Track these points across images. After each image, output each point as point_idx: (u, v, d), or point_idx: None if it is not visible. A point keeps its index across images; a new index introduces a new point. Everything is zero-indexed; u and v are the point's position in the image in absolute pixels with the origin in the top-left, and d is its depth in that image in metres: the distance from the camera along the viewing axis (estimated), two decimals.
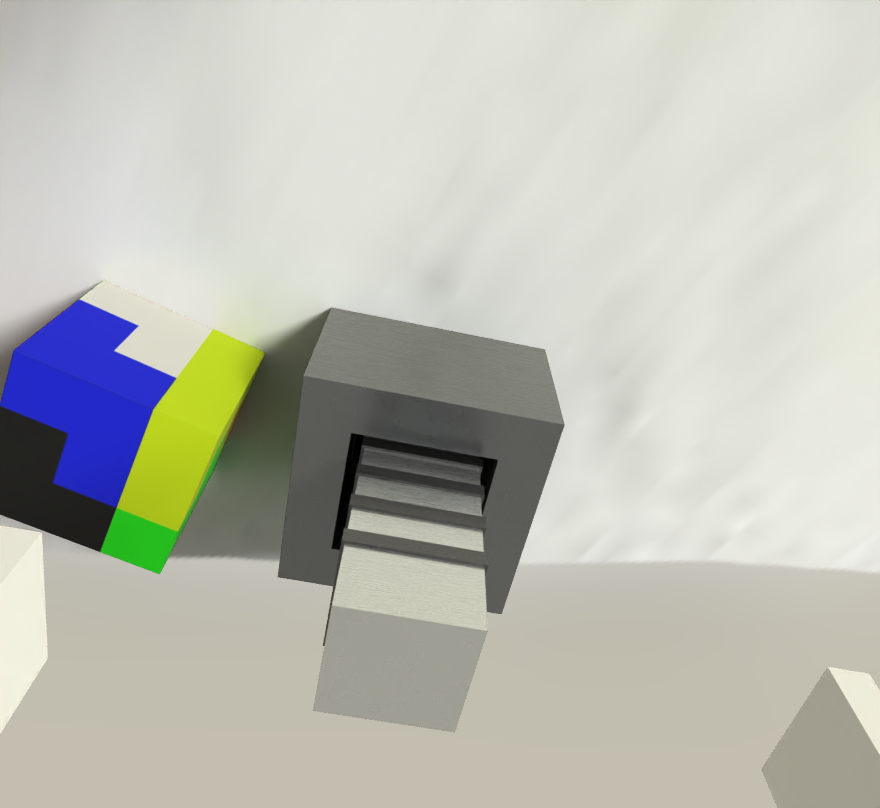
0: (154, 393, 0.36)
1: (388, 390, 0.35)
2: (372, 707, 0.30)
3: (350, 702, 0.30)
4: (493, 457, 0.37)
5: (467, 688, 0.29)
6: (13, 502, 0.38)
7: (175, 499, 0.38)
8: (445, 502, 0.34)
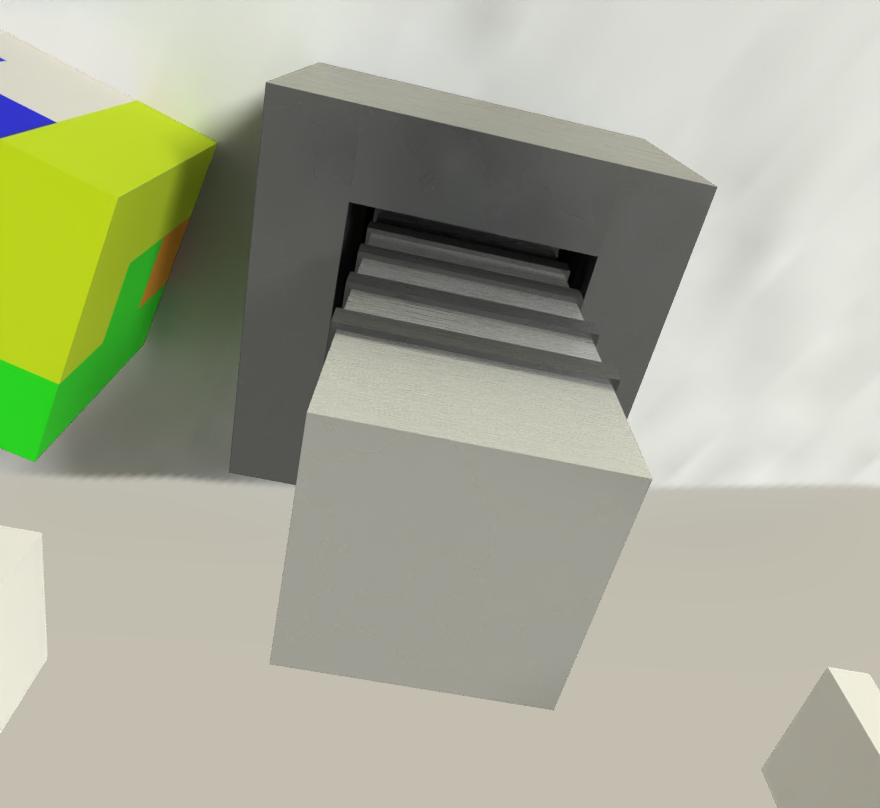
0: (6, 124, 0.21)
1: (415, 116, 0.20)
2: (391, 657, 0.15)
3: (346, 646, 0.15)
4: (590, 252, 0.22)
5: (590, 615, 0.14)
6: None
7: (49, 323, 0.22)
8: (518, 302, 0.19)
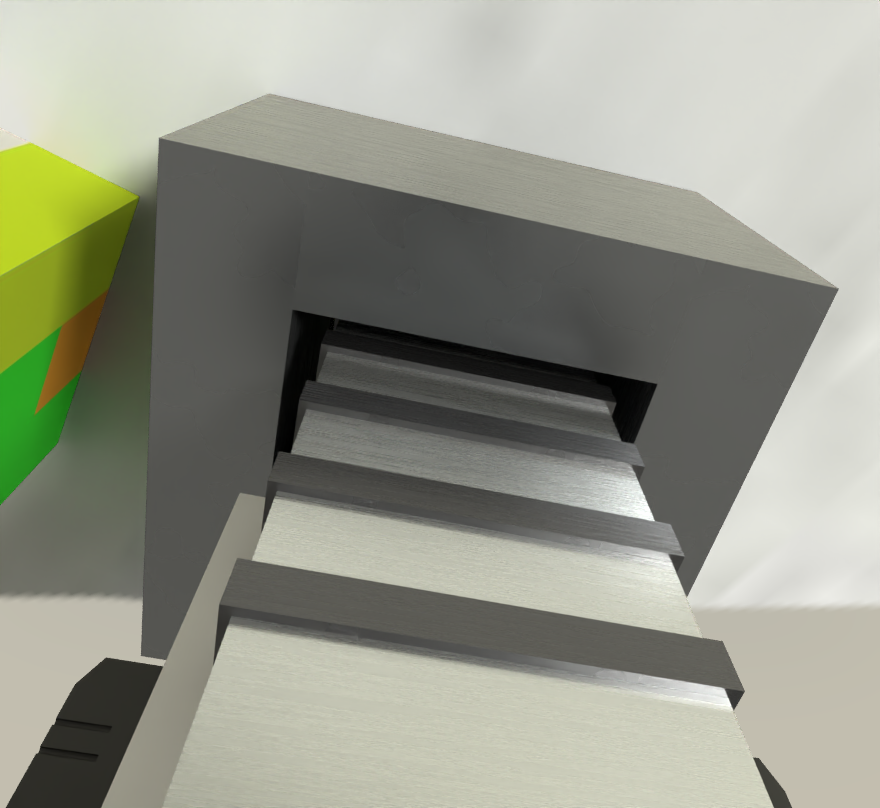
0: None
1: (388, 187, 0.13)
2: None
3: None
4: (646, 377, 0.15)
5: None
6: None
7: None
8: (547, 482, 0.12)
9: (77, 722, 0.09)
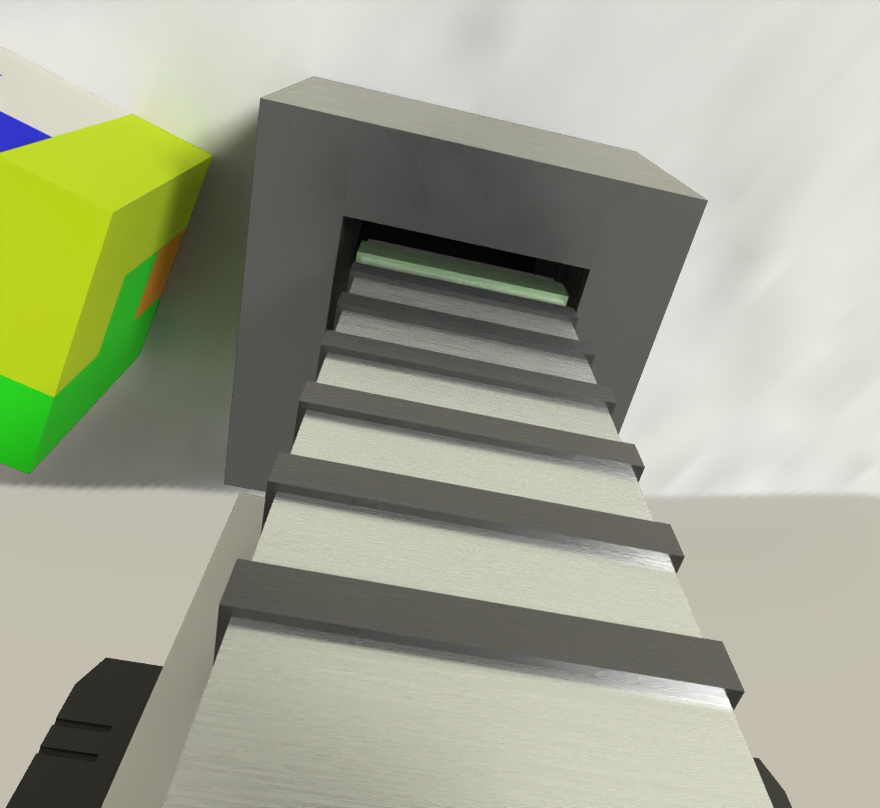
0: (2, 140, 0.21)
1: (408, 131, 0.20)
2: None
3: None
4: (582, 264, 0.22)
5: None
6: None
7: (45, 336, 0.22)
8: (547, 483, 0.12)
9: (77, 722, 0.09)
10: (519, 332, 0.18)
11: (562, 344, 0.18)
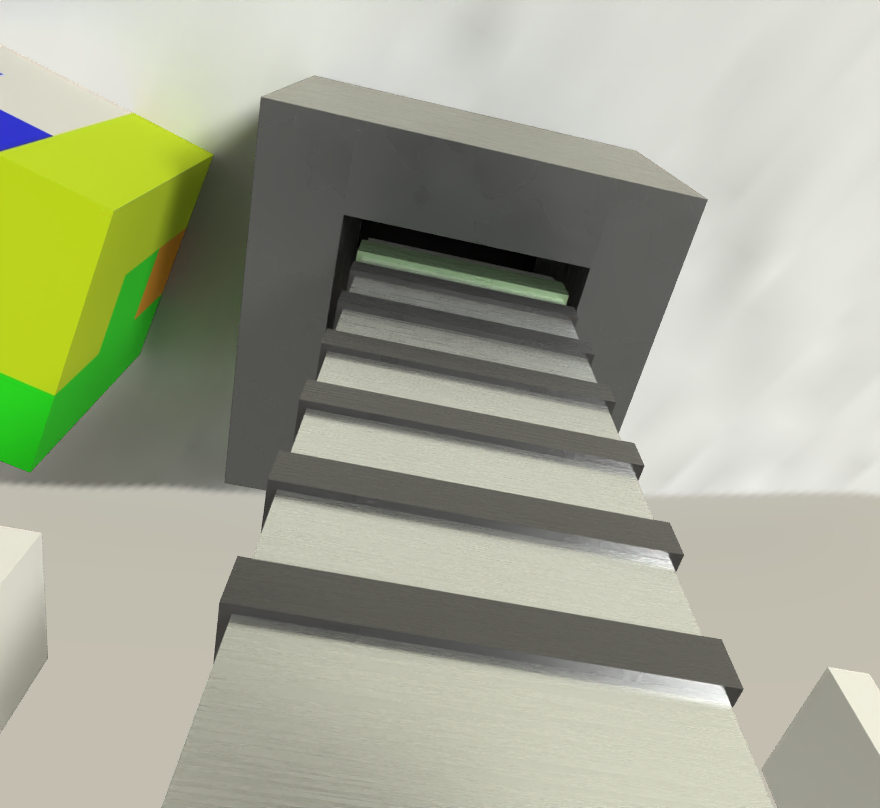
0: (3, 139, 0.21)
1: (409, 130, 0.20)
2: None
3: None
4: (582, 263, 0.22)
5: None
6: None
7: (45, 334, 0.22)
8: (547, 481, 0.12)
9: None
10: (519, 330, 0.18)
11: (562, 343, 0.18)
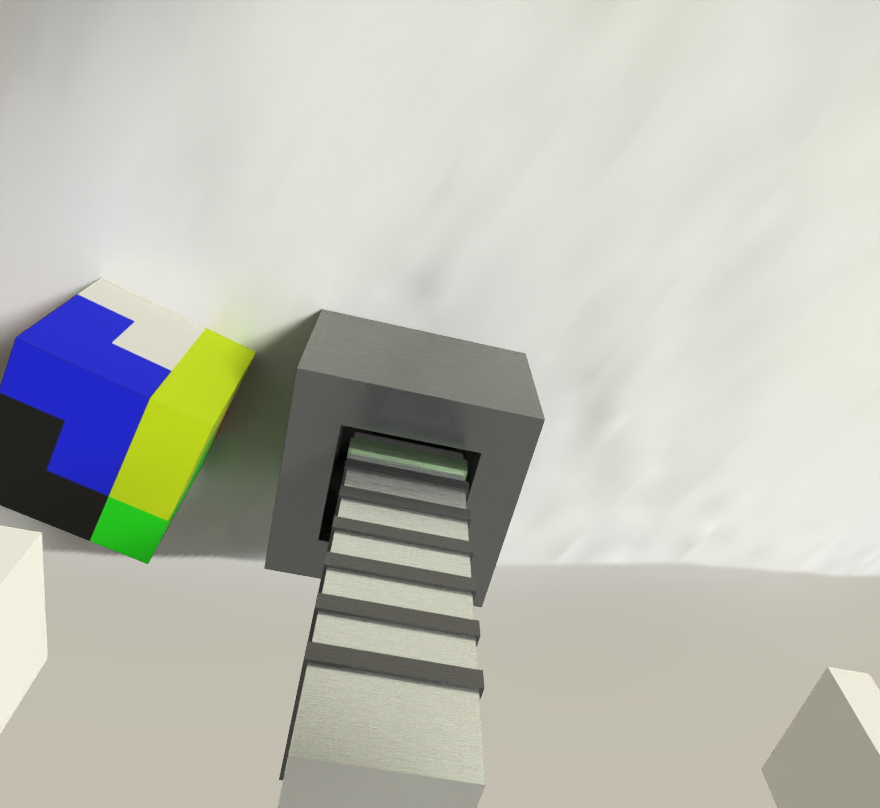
0: (150, 384, 0.37)
1: (377, 383, 0.37)
2: None
3: None
4: (476, 450, 0.39)
5: None
6: (6, 490, 0.39)
7: (166, 488, 0.39)
8: (430, 601, 0.29)
9: None
10: (433, 506, 0.35)
11: (455, 512, 0.34)
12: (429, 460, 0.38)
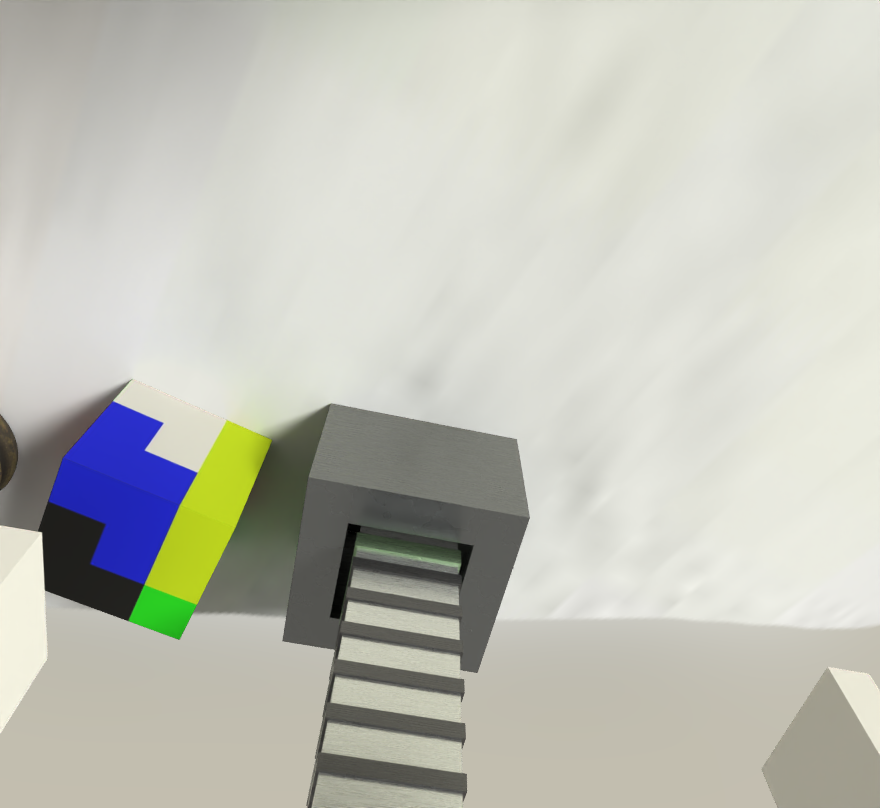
0: (179, 490, 0.42)
1: (380, 488, 0.42)
2: None
3: None
4: (469, 543, 0.43)
5: None
6: (55, 580, 0.44)
7: (195, 578, 0.44)
8: (424, 704, 0.34)
9: None
10: (429, 604, 0.39)
11: (448, 610, 0.39)
12: (427, 553, 0.43)
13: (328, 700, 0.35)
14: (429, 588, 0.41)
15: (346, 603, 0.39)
